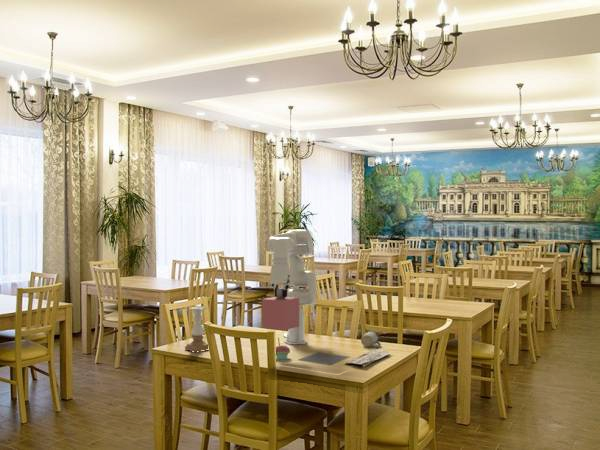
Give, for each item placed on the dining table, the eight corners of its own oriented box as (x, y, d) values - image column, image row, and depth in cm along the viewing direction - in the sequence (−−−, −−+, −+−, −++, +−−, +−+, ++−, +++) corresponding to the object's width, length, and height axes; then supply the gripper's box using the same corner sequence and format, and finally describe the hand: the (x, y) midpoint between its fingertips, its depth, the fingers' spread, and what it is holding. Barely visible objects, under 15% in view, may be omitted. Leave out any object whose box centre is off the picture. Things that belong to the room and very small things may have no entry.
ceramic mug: (360, 346, 333) (360, 333, 333) (365, 344, 341) (365, 330, 340) (378, 348, 329) (378, 335, 328) (382, 346, 336) (382, 332, 336)
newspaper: (371, 353, 320) (371, 346, 320) (392, 355, 314) (392, 348, 314) (343, 367, 289) (343, 360, 289) (366, 370, 283) (366, 363, 283)
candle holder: (194, 353, 322) (194, 309, 322) (184, 349, 330) (183, 307, 330) (211, 350, 329) (211, 307, 329) (201, 347, 338) (200, 305, 337)
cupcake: (277, 362, 300) (277, 338, 300) (270, 358, 308) (270, 335, 308) (292, 360, 304) (292, 336, 304) (285, 356, 312) (285, 334, 311)
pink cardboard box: (262, 328, 303) (262, 289, 303) (279, 324, 315) (278, 286, 315) (283, 330, 296) (283, 290, 296) (299, 326, 307) (299, 288, 307)
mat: (297, 361, 302) (297, 359, 302) (318, 353, 318) (318, 352, 318) (330, 366, 290) (330, 364, 290) (350, 358, 307) (350, 356, 307)
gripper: (263, 261, 307) (263, 296, 307) (289, 262, 297) (290, 298, 297) (272, 261, 313) (272, 295, 313) (298, 261, 304) (298, 297, 304)
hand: (280, 296), depth 305 cm, fingers closed on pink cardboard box, 4 cm apart
